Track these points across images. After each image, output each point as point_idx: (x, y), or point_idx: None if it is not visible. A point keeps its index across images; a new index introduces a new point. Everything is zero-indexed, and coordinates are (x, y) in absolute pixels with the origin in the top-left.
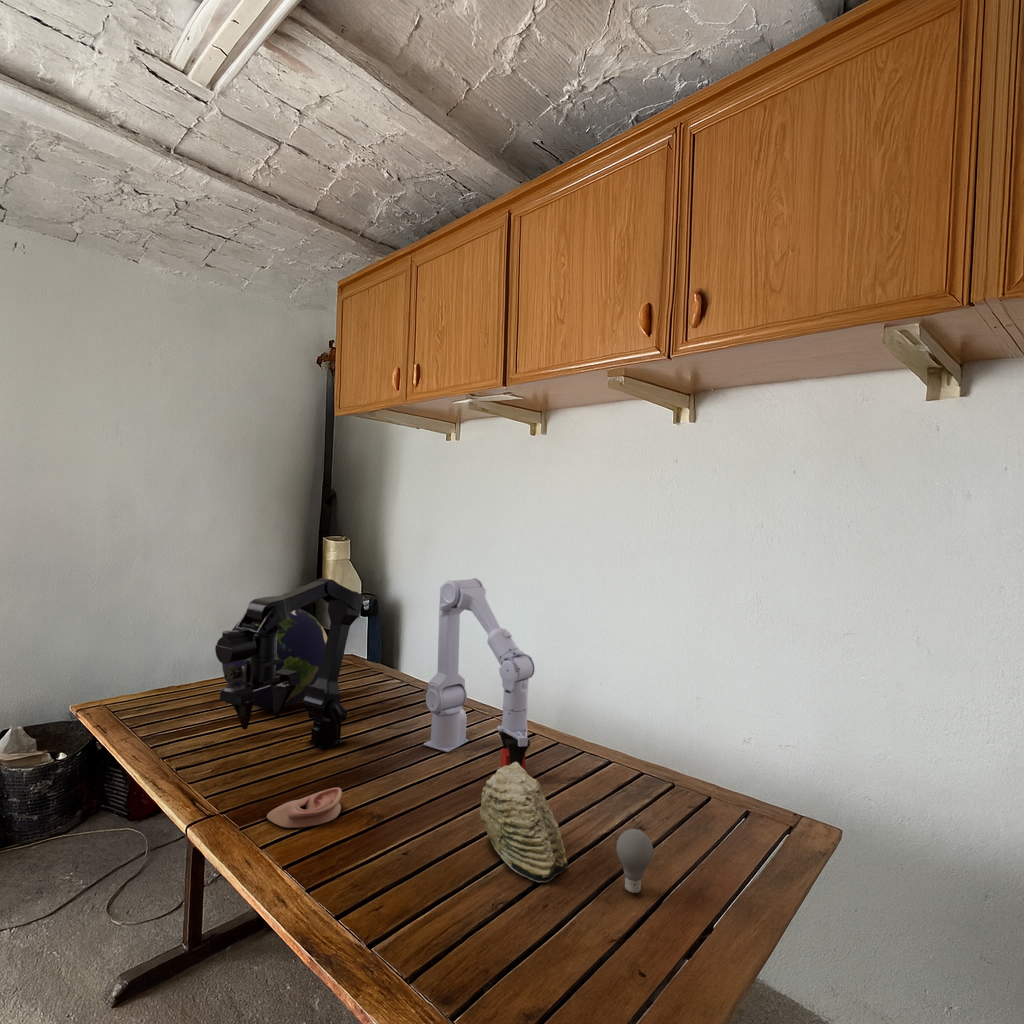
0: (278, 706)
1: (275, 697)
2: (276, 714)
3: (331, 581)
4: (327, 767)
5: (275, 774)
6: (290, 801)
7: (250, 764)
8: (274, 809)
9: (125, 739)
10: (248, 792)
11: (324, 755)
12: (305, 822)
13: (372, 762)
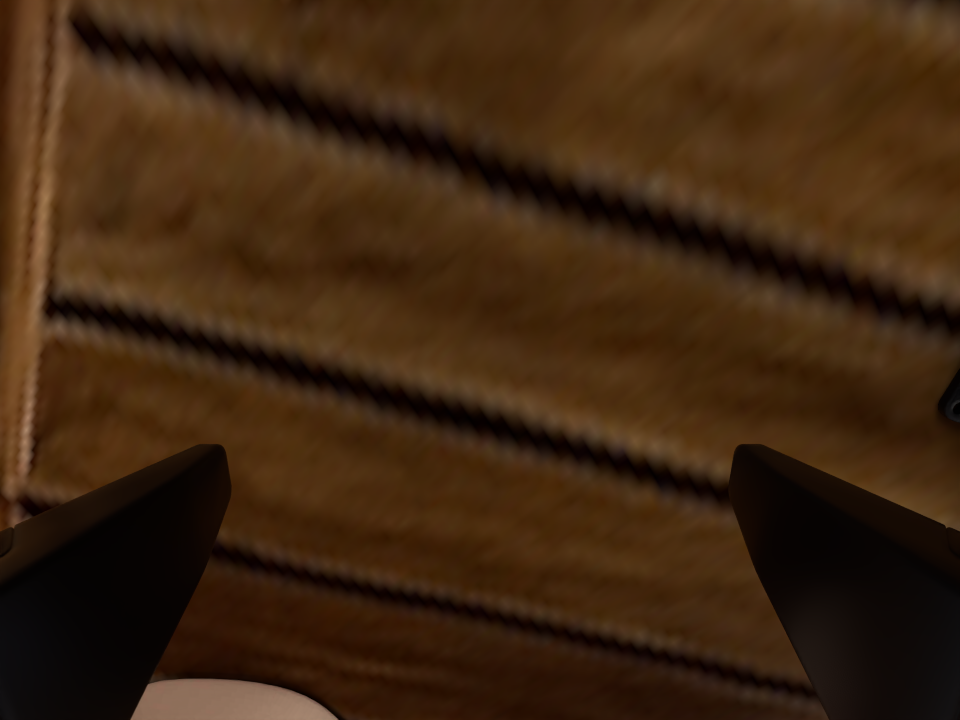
0: (801, 603)
1: (923, 634)
2: (741, 506)
3: None
4: (708, 579)
5: (495, 413)
6: (263, 718)
7: (532, 159)
8: (165, 715)
9: None
10: (246, 453)
11: (859, 467)
12: None
13: None
